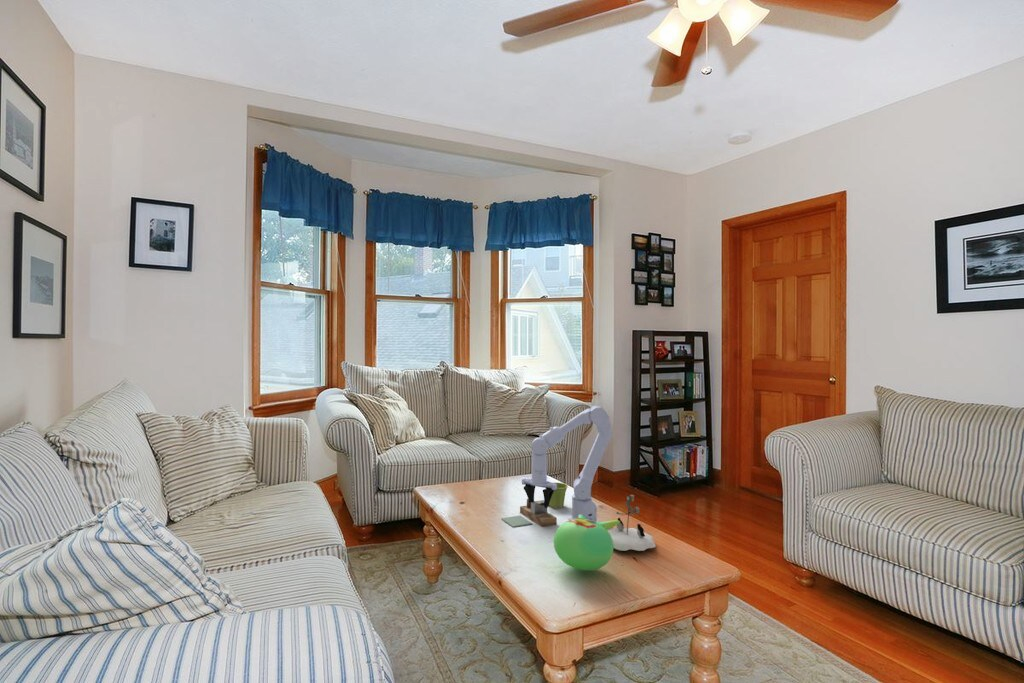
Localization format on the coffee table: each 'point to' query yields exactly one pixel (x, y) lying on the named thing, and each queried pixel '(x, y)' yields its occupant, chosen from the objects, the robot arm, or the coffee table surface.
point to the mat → (516, 521)
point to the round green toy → (584, 543)
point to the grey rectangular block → (538, 507)
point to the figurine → (630, 534)
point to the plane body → (538, 516)
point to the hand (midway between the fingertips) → (539, 505)
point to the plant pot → (558, 496)
